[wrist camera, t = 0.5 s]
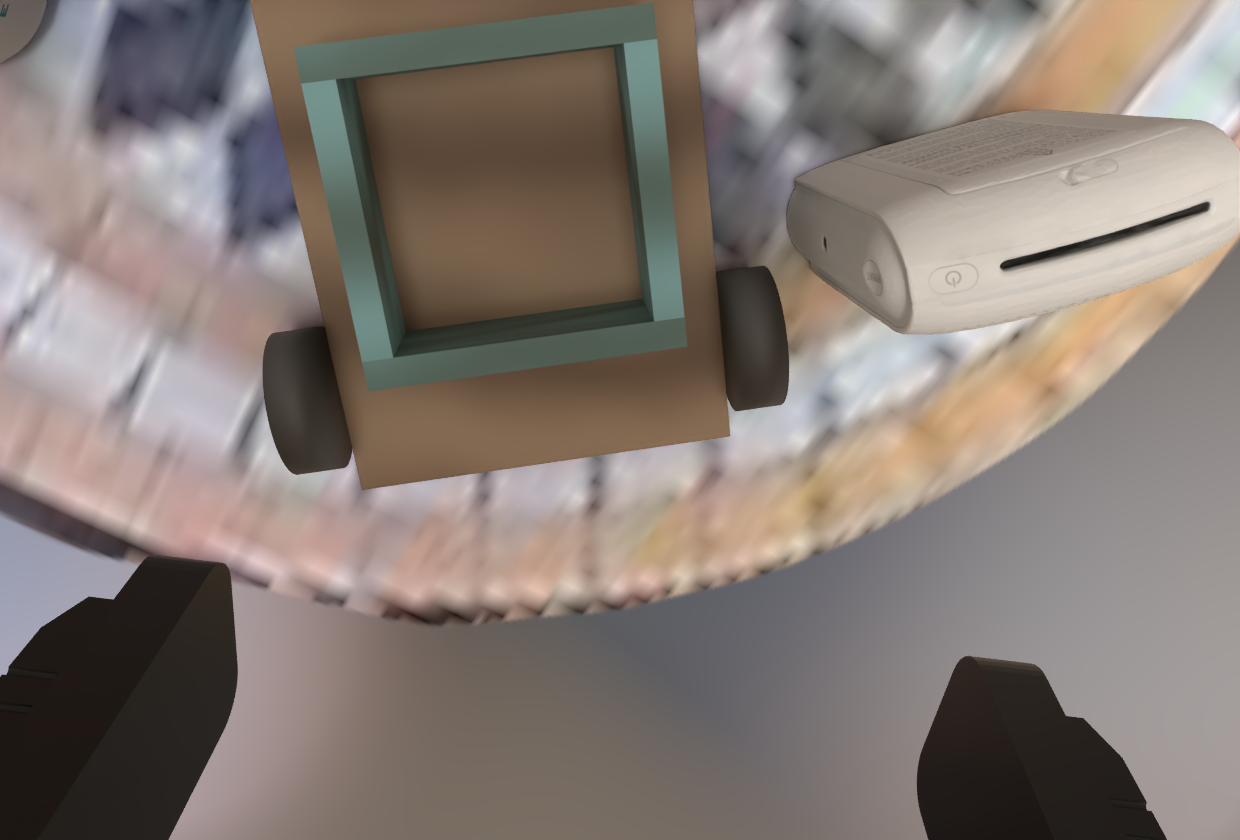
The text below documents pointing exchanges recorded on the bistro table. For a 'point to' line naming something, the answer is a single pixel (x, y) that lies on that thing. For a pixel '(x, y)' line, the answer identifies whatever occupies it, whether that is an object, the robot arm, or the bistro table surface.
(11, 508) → the bistro table surface
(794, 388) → the bistro table surface
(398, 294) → the chassis
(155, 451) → the bistro table surface
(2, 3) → the energy drink can
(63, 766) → the robot arm
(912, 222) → the photo printer
